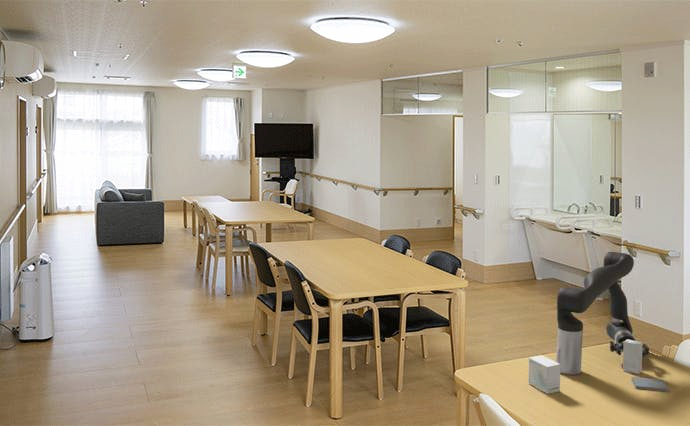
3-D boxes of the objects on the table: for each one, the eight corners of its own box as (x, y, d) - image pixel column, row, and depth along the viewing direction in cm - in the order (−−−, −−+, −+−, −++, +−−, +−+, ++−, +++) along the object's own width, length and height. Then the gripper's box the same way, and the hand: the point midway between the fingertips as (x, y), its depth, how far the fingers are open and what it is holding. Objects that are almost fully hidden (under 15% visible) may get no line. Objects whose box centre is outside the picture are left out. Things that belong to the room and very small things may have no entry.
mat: (635, 388, 236) (635, 385, 236) (631, 379, 245) (631, 376, 245) (668, 391, 233) (668, 388, 233) (663, 382, 242) (663, 379, 242)
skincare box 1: (527, 384, 241) (528, 357, 239) (541, 381, 243) (542, 354, 242) (546, 394, 231) (547, 366, 230) (560, 391, 233) (561, 363, 232)
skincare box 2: (642, 371, 253) (643, 341, 251) (637, 374, 249) (639, 344, 248) (625, 367, 257) (627, 338, 255) (621, 370, 254) (623, 341, 252)
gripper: (607, 331, 271) (612, 343, 255) (644, 333, 267) (651, 346, 252) (606, 348, 272) (611, 361, 256) (643, 351, 268) (650, 364, 253)
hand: (631, 353), depth 254 cm, fingers open, 8 cm apart
